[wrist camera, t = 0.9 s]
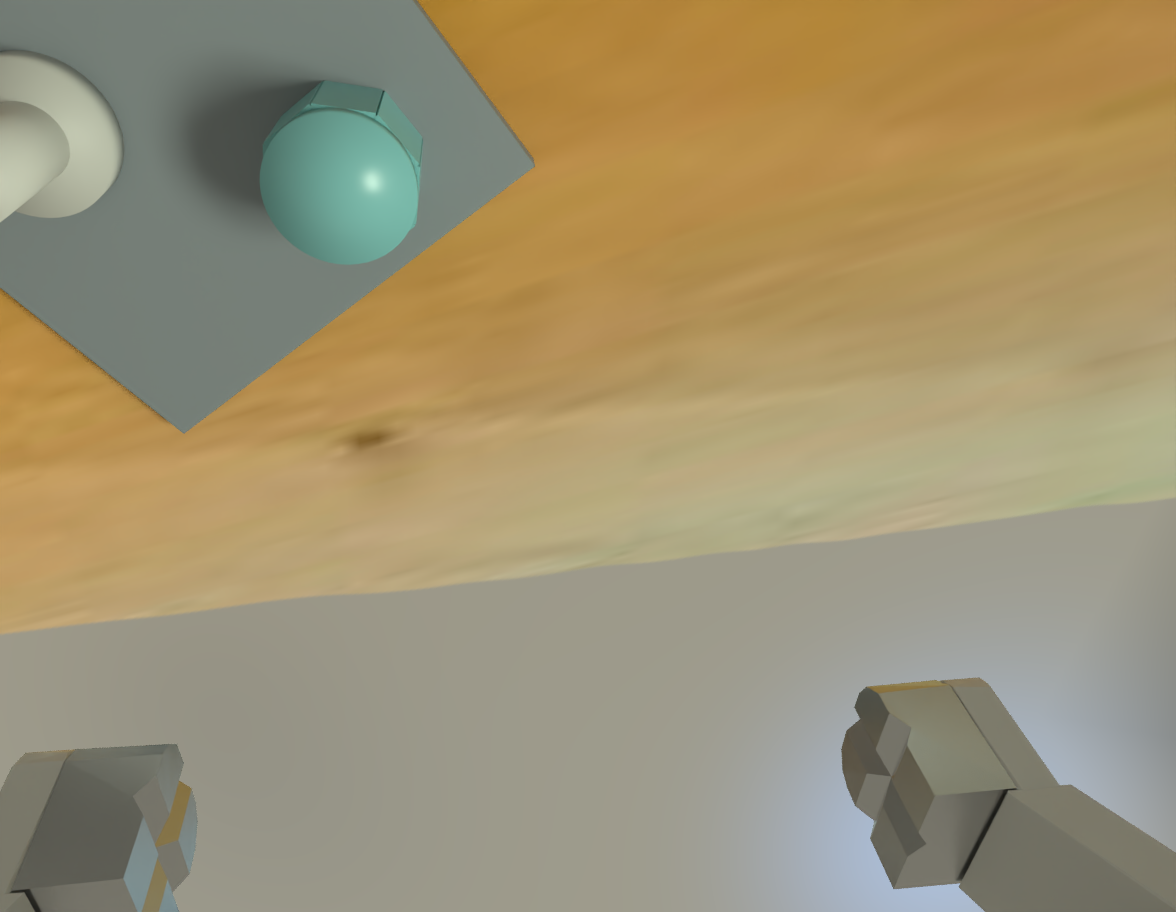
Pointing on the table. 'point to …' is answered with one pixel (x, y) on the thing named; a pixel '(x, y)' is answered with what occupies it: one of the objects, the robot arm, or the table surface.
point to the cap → (342, 174)
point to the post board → (207, 175)
